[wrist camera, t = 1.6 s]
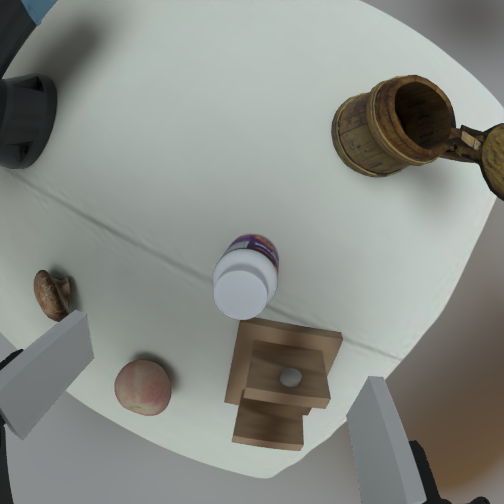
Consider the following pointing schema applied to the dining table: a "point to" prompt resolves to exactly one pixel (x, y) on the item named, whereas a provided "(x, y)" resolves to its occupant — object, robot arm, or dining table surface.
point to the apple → (143, 387)
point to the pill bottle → (246, 277)
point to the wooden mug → (412, 132)
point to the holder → (278, 380)
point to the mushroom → (52, 295)
